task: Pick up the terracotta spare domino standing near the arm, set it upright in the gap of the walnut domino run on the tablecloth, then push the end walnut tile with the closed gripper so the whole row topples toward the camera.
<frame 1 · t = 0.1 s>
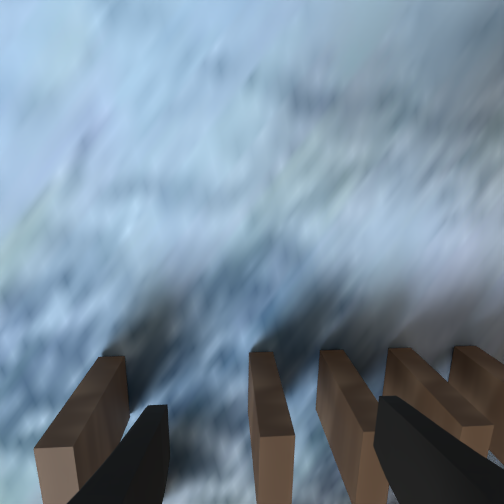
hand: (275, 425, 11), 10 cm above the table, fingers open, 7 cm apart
domino 3: (260, 382, 21), on the table
domino 1: (114, 387, 21), on the table
domino 6: (459, 375, 23), on the table
domino 5: (395, 377, 22), on the table
domino 4: (329, 379, 22), on the table
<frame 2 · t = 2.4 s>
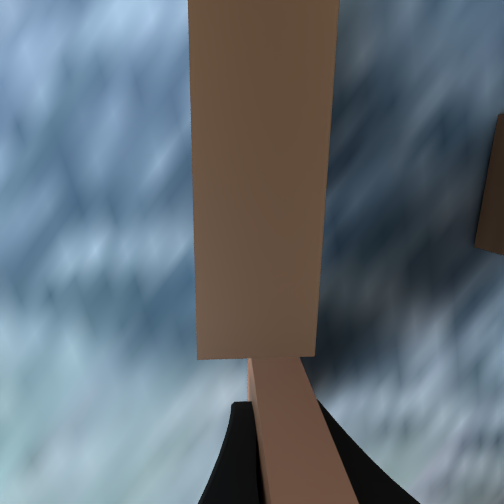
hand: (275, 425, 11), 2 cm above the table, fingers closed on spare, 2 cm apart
domino 1: (238, 179, 11), on the table
spare: (267, 388, 12), on the table, touching gripper
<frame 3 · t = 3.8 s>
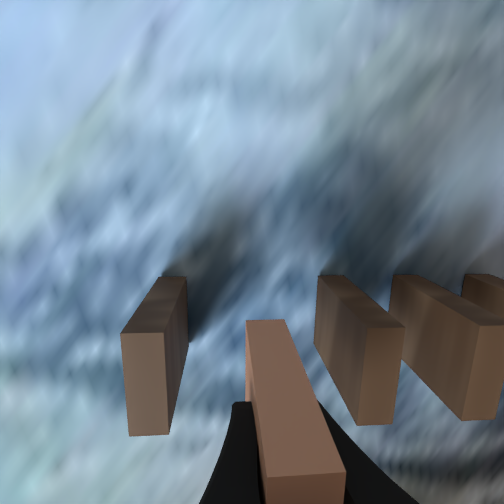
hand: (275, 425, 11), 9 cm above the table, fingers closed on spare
domino 3: (328, 310, 20), on the table
domino 1: (174, 312, 19), on the table
domino 5: (470, 307, 21), on the table
spare: (264, 369, 14), point 6 cm above the table, touching gripper
domino 4: (400, 308, 20), on the table
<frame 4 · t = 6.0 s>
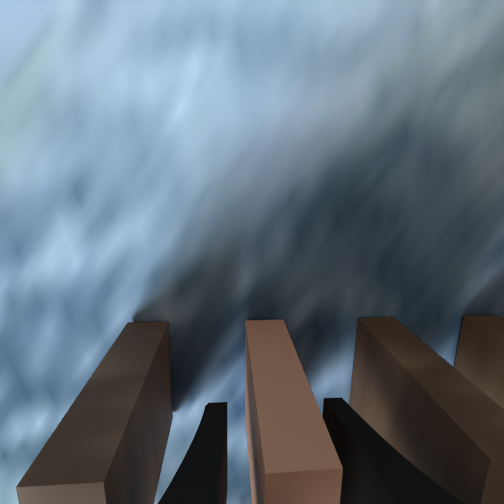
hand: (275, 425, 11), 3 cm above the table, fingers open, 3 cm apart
domino 3: (370, 365, 14), on the table
domino 1: (151, 372, 13), on the table
spare: (263, 368, 14), on the table
domino 4: (471, 362, 15), on the table
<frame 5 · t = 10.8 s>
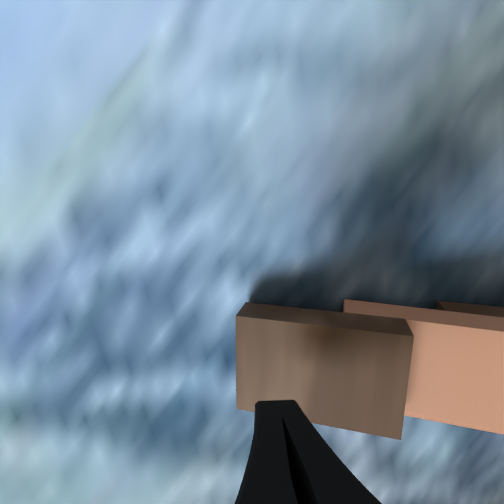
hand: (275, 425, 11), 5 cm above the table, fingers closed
domino 3: (435, 349, 16), point 1 cm above the table, tilted 71°, touching domino 4, spare
domino 1: (241, 354, 15), point 1 cm above the table, tilted 71°, touching spare
spare: (339, 349, 15), point 1 cm above the table, tilted 71°, touching domino 1, domino 3
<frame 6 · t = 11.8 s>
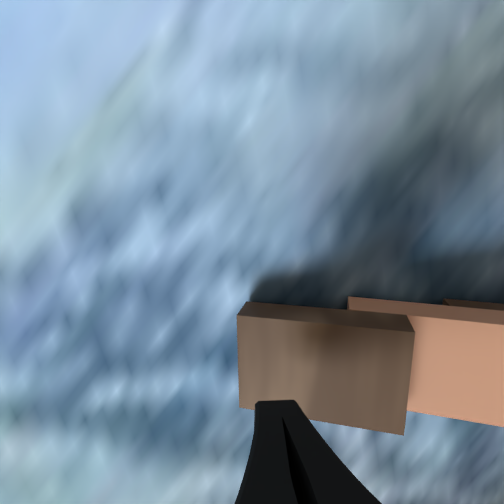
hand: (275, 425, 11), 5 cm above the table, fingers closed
domino 3: (441, 347, 16), point 1 cm above the table, tilted 72°, touching domino 4, spare
domino 1: (243, 353, 15), point 1 cm above the table, tilted 71°
spare: (345, 347, 15), point 1 cm above the table, tilted 71°, touching domino 3
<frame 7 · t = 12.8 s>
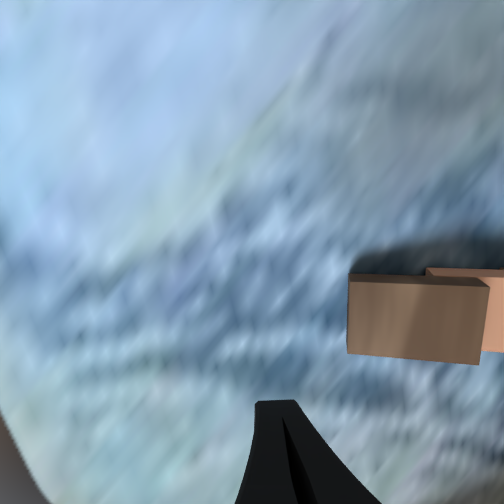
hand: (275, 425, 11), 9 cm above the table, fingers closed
domino 1: (347, 312, 19), point 1 cm above the table, tilted 72°, touching spare
spare: (426, 306, 20), point 1 cm above the table, tilted 72°, touching domino 1
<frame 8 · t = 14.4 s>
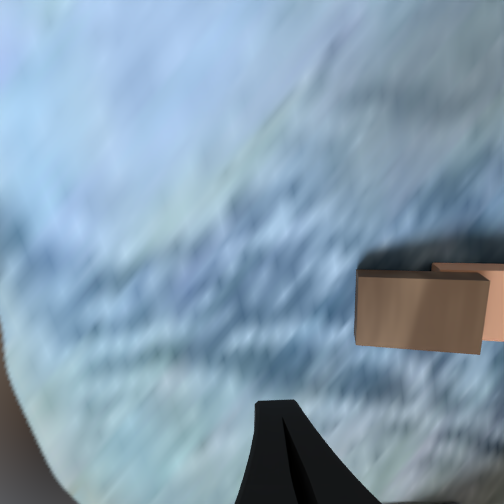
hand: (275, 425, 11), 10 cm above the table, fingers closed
domino 1: (356, 306, 21), point 1 cm above the table, tilted 72°, touching spare
spare: (432, 299, 21), point 1 cm above the table, tilted 72°, touching domino 1, domino 3
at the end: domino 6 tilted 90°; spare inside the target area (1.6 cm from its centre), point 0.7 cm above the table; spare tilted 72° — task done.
